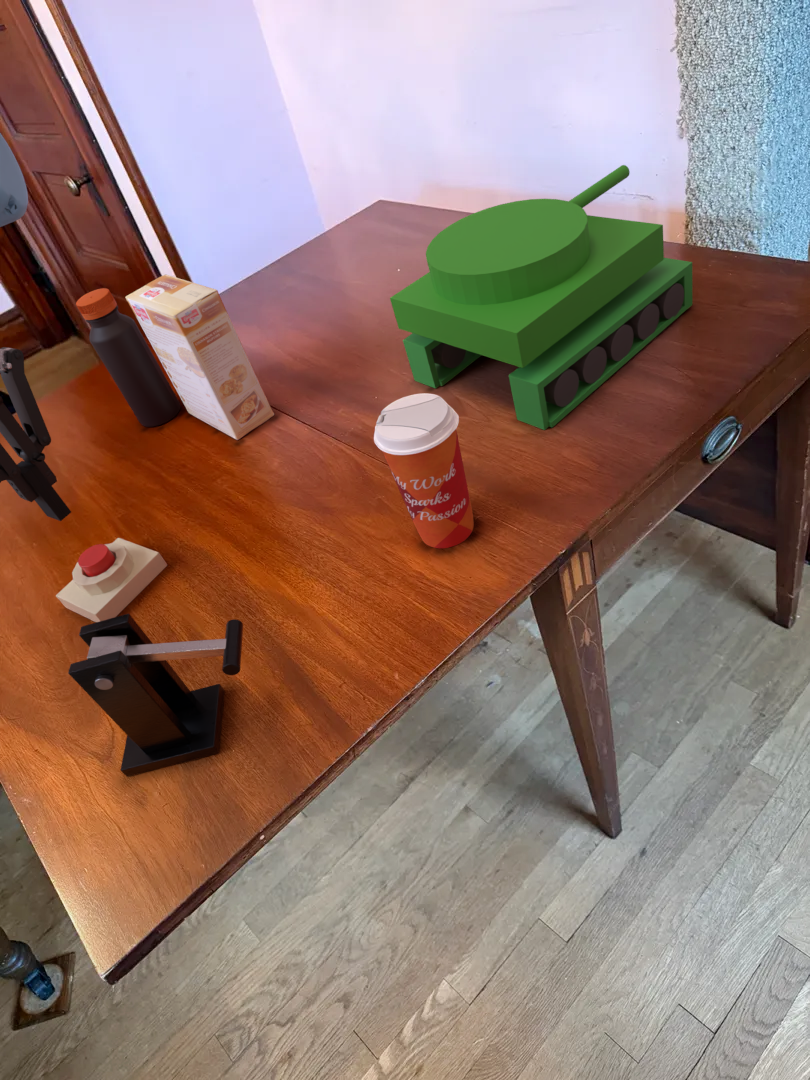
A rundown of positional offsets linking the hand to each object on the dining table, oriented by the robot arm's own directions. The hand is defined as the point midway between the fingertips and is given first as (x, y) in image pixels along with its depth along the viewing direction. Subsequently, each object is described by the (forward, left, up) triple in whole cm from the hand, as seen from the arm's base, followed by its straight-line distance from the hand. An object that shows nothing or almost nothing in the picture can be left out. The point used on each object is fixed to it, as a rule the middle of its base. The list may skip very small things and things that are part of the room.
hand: (59, 513), depth 80 cm
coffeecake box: (+32, +11, -12) cm, 36 cm away
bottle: (+29, +24, -12) cm, 40 cm away
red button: (0, 0, -8) cm, 8 cm away
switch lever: (-8, -26, -2) cm, 27 cm away
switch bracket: (-11, -23, -12) cm, 28 cm away
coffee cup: (+21, -34, -12) cm, 42 cm away
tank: (+59, -30, -12) cm, 67 cm away
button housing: (0, 0, -12) cm, 12 cm away
